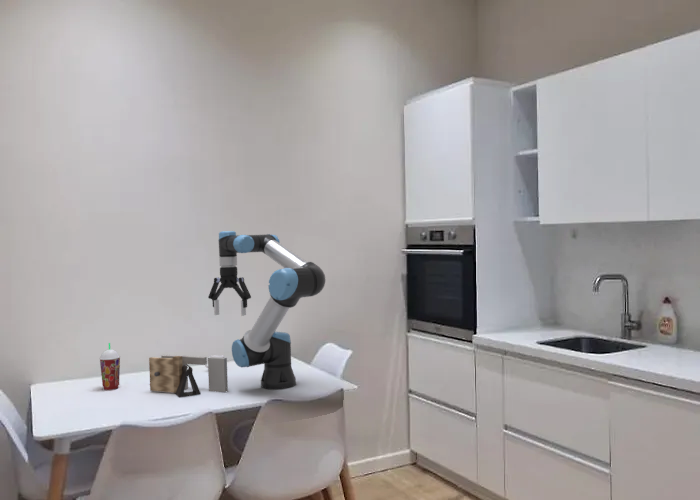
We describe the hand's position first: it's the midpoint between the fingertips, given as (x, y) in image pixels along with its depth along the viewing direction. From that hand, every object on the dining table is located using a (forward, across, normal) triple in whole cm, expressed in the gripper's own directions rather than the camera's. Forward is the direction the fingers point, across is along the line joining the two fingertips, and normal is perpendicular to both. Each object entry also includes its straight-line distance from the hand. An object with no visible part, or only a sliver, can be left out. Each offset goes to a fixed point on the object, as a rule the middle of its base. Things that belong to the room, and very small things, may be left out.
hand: (230, 315), depth 273 cm
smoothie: (+31, +50, +19) cm, 62 cm away
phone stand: (+31, +9, +19) cm, 38 cm away
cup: (+31, +26, -25) cm, 47 cm away
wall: (+31, +12, +11) cm, 35 cm away
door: (+30, +20, +19) cm, 41 cm away
